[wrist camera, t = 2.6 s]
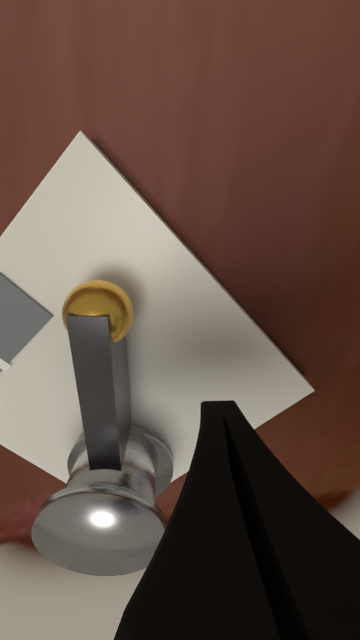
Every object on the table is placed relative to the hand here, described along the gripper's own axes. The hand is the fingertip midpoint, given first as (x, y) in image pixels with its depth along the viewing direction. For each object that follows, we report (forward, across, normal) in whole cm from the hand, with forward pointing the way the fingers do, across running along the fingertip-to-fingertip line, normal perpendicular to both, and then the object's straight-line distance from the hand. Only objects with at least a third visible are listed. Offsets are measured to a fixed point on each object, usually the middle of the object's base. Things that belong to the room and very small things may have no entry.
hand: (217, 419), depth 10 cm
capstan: (+4, +5, +3) cm, 8 cm away
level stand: (+6, +6, +2) cm, 9 cm away
